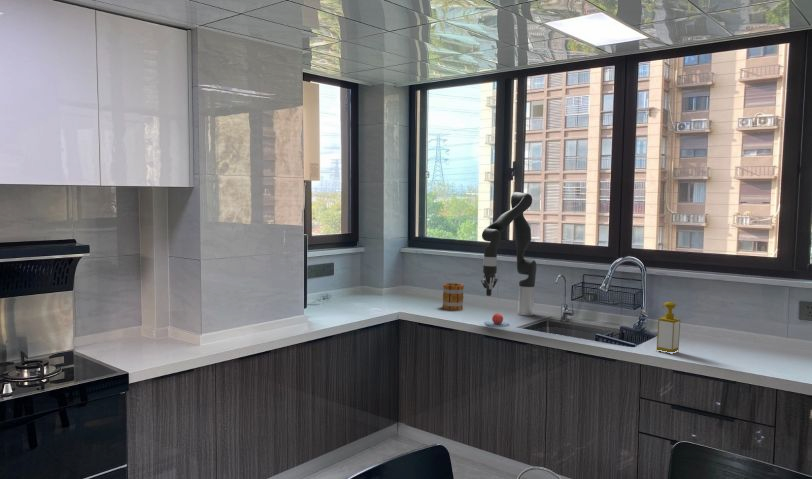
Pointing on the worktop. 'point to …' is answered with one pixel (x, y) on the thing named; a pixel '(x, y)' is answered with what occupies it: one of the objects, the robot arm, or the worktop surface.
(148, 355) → the worktop surface
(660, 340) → the soap bottle
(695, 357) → the worktop surface
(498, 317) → the ball
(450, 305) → the brown wooden cylinder
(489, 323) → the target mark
